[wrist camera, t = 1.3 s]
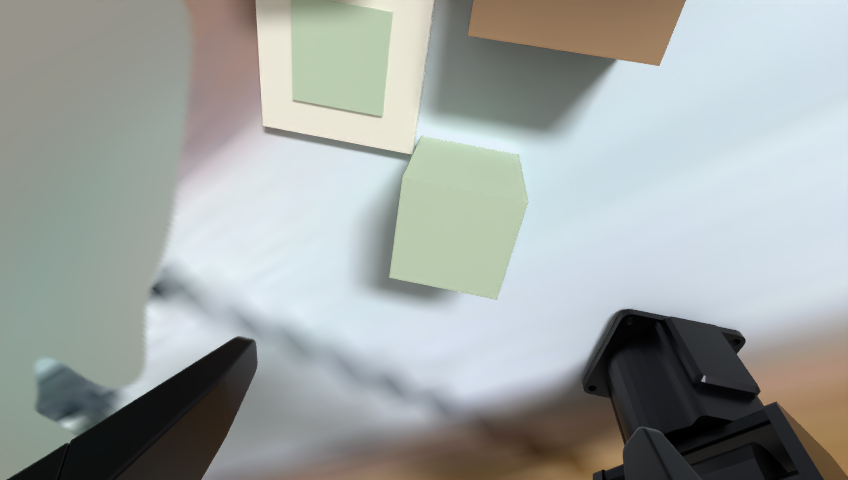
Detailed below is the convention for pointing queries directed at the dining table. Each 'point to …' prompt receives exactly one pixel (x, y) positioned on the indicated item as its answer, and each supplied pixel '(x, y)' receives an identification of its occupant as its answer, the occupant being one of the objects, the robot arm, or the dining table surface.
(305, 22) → the swatch tile
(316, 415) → the dining table surface
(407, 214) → the sage block
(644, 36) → the walnut block
